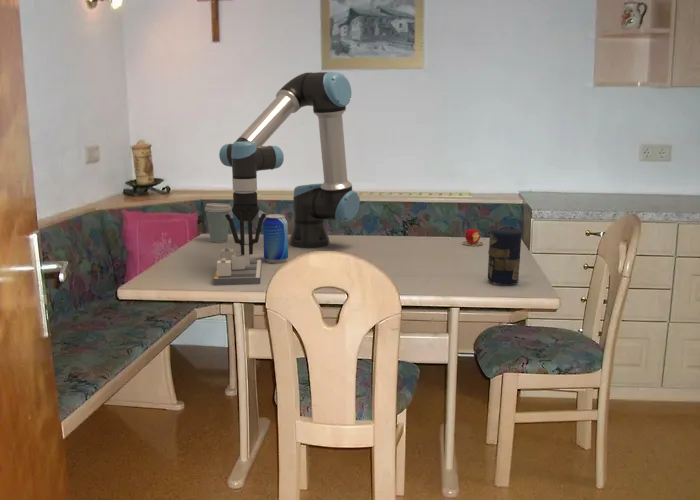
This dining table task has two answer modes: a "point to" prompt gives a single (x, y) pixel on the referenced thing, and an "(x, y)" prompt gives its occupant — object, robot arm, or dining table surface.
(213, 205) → the disposable coffee cup
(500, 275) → the canister
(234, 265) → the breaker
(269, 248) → the beer can
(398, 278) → the dining table surface
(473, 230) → the apple
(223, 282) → the panel
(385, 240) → the dining table surface
